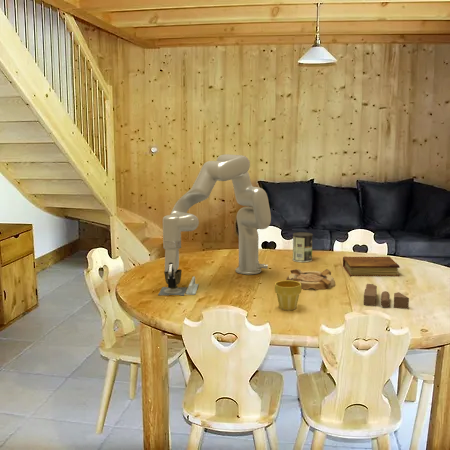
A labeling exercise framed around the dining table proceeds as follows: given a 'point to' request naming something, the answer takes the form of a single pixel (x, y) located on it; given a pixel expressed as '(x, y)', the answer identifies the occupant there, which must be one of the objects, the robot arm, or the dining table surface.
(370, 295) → the wooden block set
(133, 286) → the dining table surface
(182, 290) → the rest pad
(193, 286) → the low wall
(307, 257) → the coffee can
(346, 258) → the diary
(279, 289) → the plant pot
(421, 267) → the dining table surface
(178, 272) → the ornate metal lamp shade
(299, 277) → the ashtray
